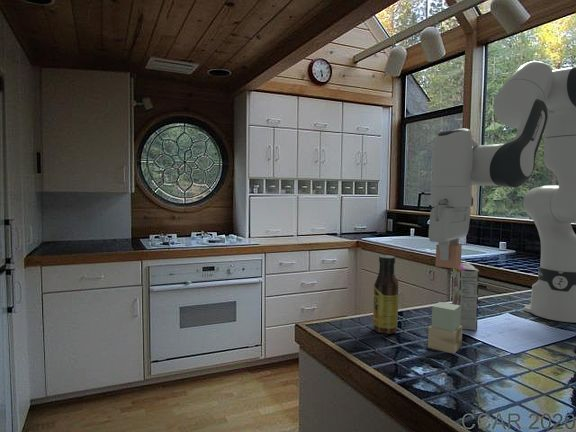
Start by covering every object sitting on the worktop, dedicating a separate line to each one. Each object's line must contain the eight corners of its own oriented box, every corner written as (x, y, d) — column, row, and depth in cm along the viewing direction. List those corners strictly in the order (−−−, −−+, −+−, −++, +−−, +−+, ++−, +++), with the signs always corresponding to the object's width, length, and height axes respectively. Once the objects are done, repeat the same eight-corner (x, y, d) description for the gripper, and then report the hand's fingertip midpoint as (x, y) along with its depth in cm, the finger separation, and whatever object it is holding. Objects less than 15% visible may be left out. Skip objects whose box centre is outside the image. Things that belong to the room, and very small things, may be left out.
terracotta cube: (441, 263, 103) (442, 243, 103) (460, 265, 100) (461, 244, 100) (435, 266, 99) (436, 244, 99) (455, 268, 97) (456, 246, 96)
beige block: (436, 341, 105) (436, 321, 105) (461, 346, 102) (462, 326, 101) (427, 348, 100) (428, 327, 100) (454, 354, 97) (454, 332, 97)
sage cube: (438, 322, 104) (439, 301, 104) (459, 326, 101) (460, 305, 101) (431, 327, 100) (432, 306, 100) (453, 331, 97) (454, 310, 97)
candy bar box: (450, 317, 124) (452, 262, 123) (468, 318, 123) (470, 262, 122) (457, 329, 114) (459, 268, 113) (477, 331, 113) (480, 269, 112)
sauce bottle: (374, 325, 116) (376, 253, 115) (398, 328, 114) (400, 254, 113) (371, 333, 110) (373, 257, 109) (396, 336, 108) (398, 258, 107)
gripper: (452, 200, 89) (450, 266, 89) (475, 199, 105) (473, 254, 106) (422, 199, 92) (420, 262, 93) (448, 198, 109) (447, 252, 110)
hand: (448, 258), depth 100 cm, fingers closed on terracotta cube, 4 cm apart
